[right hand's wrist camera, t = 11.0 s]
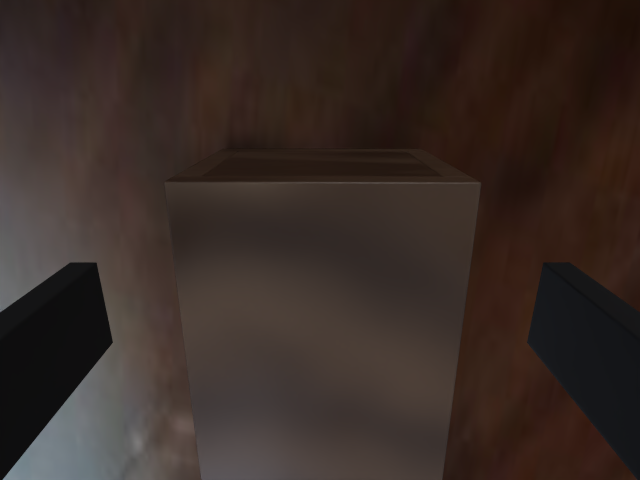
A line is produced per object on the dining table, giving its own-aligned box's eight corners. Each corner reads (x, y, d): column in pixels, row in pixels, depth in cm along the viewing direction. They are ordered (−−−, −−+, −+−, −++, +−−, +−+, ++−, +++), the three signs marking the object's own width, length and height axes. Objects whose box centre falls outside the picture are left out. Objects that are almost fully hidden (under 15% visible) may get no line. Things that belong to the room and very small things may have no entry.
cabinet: (397, 447, 30) (428, 589, 21) (244, 446, 30) (214, 588, 21) (422, 148, 23) (482, 182, 14) (222, 148, 23) (163, 181, 14)
